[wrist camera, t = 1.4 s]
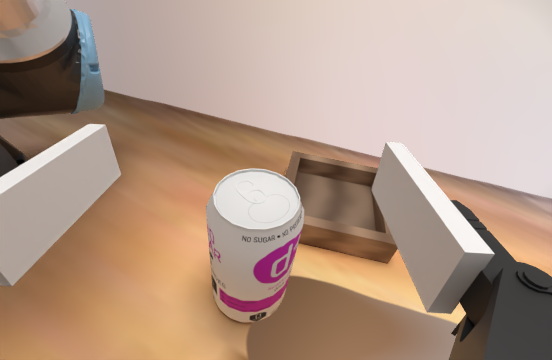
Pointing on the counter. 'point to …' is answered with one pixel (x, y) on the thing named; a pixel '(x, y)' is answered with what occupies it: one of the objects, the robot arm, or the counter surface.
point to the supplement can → (252, 241)
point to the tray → (340, 207)
